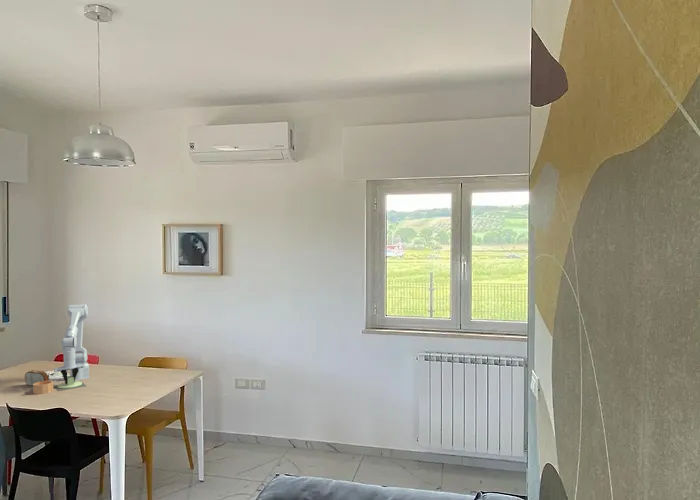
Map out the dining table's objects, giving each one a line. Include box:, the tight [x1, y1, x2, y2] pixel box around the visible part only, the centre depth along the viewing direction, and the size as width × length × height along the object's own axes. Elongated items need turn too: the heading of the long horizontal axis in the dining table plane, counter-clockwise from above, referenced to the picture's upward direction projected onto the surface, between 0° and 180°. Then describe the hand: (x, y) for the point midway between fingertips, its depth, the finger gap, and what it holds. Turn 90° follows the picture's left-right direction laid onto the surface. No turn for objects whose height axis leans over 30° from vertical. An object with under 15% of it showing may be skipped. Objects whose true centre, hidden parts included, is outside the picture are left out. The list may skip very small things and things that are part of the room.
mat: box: [53, 380, 87, 392], centre depth 268 cm, size 14×14×1 cm
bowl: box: [32, 380, 54, 395], centre depth 258 cm, size 9×9×5 cm
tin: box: [24, 369, 50, 387], centre depth 270 cm, size 15×3×8 cm, turn 74°
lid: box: [57, 375, 83, 390], centre depth 268 cm, size 12×12×5 cm
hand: (69, 382), depth 268 cm, fingers closed on lid, 3 cm apart
